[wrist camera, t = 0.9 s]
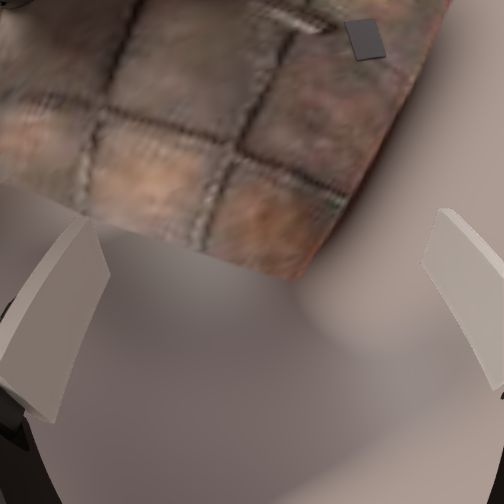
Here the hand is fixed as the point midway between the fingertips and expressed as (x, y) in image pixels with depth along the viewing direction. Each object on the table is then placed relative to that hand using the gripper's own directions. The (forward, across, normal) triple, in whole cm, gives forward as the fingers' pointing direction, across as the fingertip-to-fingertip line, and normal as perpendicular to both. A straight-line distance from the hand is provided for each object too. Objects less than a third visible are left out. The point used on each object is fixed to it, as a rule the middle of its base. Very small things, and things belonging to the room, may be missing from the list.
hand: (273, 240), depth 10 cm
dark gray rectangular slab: (+25, +13, +11) cm, 31 cm away
